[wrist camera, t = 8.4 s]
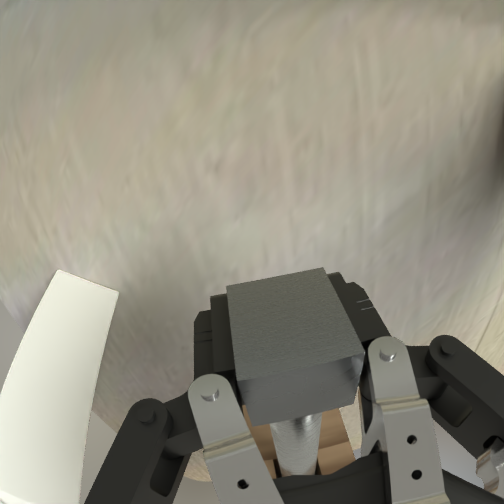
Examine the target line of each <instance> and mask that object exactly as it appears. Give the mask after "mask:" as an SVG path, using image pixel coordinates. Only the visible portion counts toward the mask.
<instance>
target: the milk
mask: <svg viewBox="0 0 504 504" xmlns="http://www.w3.org/2000/svg"><path fill="white" fill-rule="evenodd" d="M118 296H119V292H118V291H115V290H112V289H109V288H107V287H104V286H101V285H98V284H96V283H93V282H90V281H88V280H85V279H82V278H80V277H77V276H75V275H72V274H70V273H67V272H64V271H62V270H59V269H58V270H57V271H56V273H55V275H54V277H53V279H52V280H51V282H50V284H49V286H48V288H47V290H46V292H45V293H44V295H43V297H42V299H41V301H40V303H39V305H38V307H37V309H36V311H35V313H34V315H33V317H32V319H31V321H30V323H29V326H28V328H27V330H26V332H25V334H24V336H23V339H22V341H21V343H20V345H19V348H18V350H17V352H16V355H15V357H14V360H13V362H12V365H11V367H10V369H9V372H8V375H7V378H6V380H5V383H4V386H3V388H2V391H1V394H0V503H1V504H80V491H81V479H82V471H83V462H84V454H85V447H86V440H87V433H88V427H89V421H90V415H91V409H92V404H93V399H94V393H95V388H96V384H97V379H98V374H99V370H100V365H101V361H102V356H103V352H104V348H105V344H106V340H107V336H108V332H109V328H110V324H111V321H112V317H113V313H114V310H115V306H116V303H117V299H118Z"/></svg>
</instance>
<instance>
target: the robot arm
mask: <svg viewBox="0 0 504 504" xmlns="http://www.w3.org/2000/svg"><path fill="white" fill-rule="evenodd" d="M327 276H328V278H329V280H330V282H331V284H332V285H333V287H334V289H335V291H336V293H337V295H338V297H339V299H340V301H341V303H342V305H343V307H344V309H345V311H346V313H347V315H348V317H349V319H350V321H351V323H352V326H353V328H354V330H355V332H356V334H357V336H358V338H359V340H360V342H361V344H362V346H363V348H364V351H365V356H364V361H363V366H362V370H361V375H360V379H359V383H358V386H359V390H358V400H359V409H360V419H361V429H362V444H361V458H359V459H357V460H355V461H353V462H352V463H350V464H348V465H346V466H345V467H343V468H341V469H339V470H337V471H336V472H334V473H332V474H328V475H291V476H286V477H281V478H275V479H272V478H271V475H270V473H269V471H268V469H267V467H266V465H265V463H264V461H263V458H262V456H261V454H260V452H259V450H258V447H257V445H256V443H255V441H254V439H253V437H252V435H251V433H250V431H249V428H248V426H247V424H246V421H245V419H244V414H243V407H242V405H245V404H244V401H243V398H242V395H241V392H240V389H239V386H238V383H237V377H236V369H235V361H234V352H233V344H232V335H231V326H230V317H229V308H228V298H227V293H226V294H221V295H215V296H211V297H210V302H211V310H207V311H201V312H199V314H198V316H197V317H196V319H195V321H194V381H193V383H192V384H191V385H190V387H189V390H188V391H187V392H186V393H185V394H183V395H182V396H180V397H178V398H175V399H173V400H170V401H168V402H165V403H162V402H160V401H159V400H156V399H152V398H148V399H143V400H140V401H138V402H137V403H135V404H134V405H133V406H132V407H131V409H130V410H129V412H128V414H127V416H126V418H125V420H124V422H123V424H122V426H121V428H120V430H119V432H118V434H117V436H116V438H115V440H114V442H113V444H112V446H111V448H110V450H109V452H108V455H107V457H106V459H105V461H104V463H103V465H102V467H101V469H100V471H99V473H98V475H97V477H96V480H95V482H94V484H93V486H92V488H91V490H90V492H89V495H88V497H87V499H86V501H85V503H84V504H172V503H173V501H174V498H175V496H176V493H177V490H178V488H179V485H180V482H181V480H182V477H183V475H184V472H185V469H186V467H187V464H188V461H189V459H190V456H191V453H192V452H195V451H197V450H199V449H202V448H204V451H203V455H204V459H205V463H206V466H207V468H208V471H209V474H210V477H211V480H212V483H213V485H214V488H215V491H216V494H217V496H218V499H219V501H220V504H504V376H503V375H502V374H501V373H500V372H499V371H497V370H496V369H495V368H494V367H492V366H491V365H490V364H489V363H487V362H486V361H485V360H484V359H482V358H481V357H480V356H479V355H477V354H476V353H475V352H473V351H472V350H471V349H470V348H468V347H467V346H466V345H464V344H463V343H462V342H461V341H459V340H458V339H457V338H455V337H453V336H449V335H441V336H438V337H436V338H434V339H433V340H432V342H431V343H430V346H406V345H405V344H404V343H403V342H402V341H400V340H399V339H397V338H395V337H392V336H391V335H390V333H389V332H388V330H387V328H386V326H385V325H384V323H383V321H382V319H381V318H380V316H379V314H378V312H377V311H376V309H375V308H374V306H373V304H372V302H371V301H370V300H369V297H368V296H367V294H366V292H365V291H364V289H363V288H361V287H360V286H359V285H357V284H356V283H355V282H351V283H346V282H345V281H344V279H343V277H342V275H341V274H340V273H339V272H336V273H331V274H327ZM432 418H433V419H434V420H435V421H436V422H437V423H438V424H439V425H440V426H441V427H443V429H445V430H446V431H447V432H448V433H449V434H450V435H451V436H452V437H453V438H454V439H455V440H456V441H458V442H459V443H460V444H461V445H462V446H463V447H464V448H465V449H466V450H467V451H468V452H469V453H470V454H471V455H473V456H474V457H475V458H476V459H477V464H476V465H477V467H476V468H477V469H476V475H477V476H478V477H480V478H481V479H482V480H483V483H484V489H482V488H480V487H478V486H476V485H473V484H471V483H469V482H467V481H465V480H463V479H461V478H459V477H457V476H455V475H453V474H451V473H449V472H447V471H445V470H443V469H442V468H441V462H440V456H439V450H438V445H437V439H436V434H435V429H434V425H433V420H432Z"/></svg>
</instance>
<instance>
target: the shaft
mask: <svg viewBox="0 0 504 504" xmlns="http://www.w3.org/2000/svg"><path fill="white" fill-rule="evenodd" d="M226 289H227V298H228V308H229V317H230V326H231V335H232V344H233V352H234V361H235V369H236V377H237V383H238V386H239V389H240V392H241V395H242V398H243V401H244V404H245V406H246V409H247V412H248V415H249V418H250V421H251V424H252V427H254V426H260V425H265V424H270V429H271V433H272V437H273V441H274V445H275V450H276V454H277V458H278V462H279V466H280V470H281V474H282V477H286V476H291V475H315V469H316V462H317V454H318V446H319V438H320V429H321V419H322V412H325V411H329V410H333V409H337V408H340V407H344V406H347V405H351V404H353V403H354V400H355V396H356V392H357V387H358V383H359V379H360V375H361V370H362V366H363V361H364V356H365V351H364V348H363V346H362V344H361V342H360V340H359V338H358V336H357V334H356V332H355V330H354V328H353V326H352V323H351V321H350V319H349V317H348V315H347V313H346V311H345V309H344V307H343V305H342V303H341V301H340V299H339V297H338V295H337V293H336V291H335V289H334V287H333V285H332V284H331V282H330V280H329V278H328V276H327V274H326V272H325V270H324V268H323V267H322V268H317V269H313V270H308V271H303V272H298V273H292V274H287V275H282V276H277V277H272V278H267V279H261V280H256V281H251V282H246V283H240V284H235V285H229V286H226Z"/></svg>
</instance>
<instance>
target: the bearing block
mask: <svg viewBox="0 0 504 504" xmlns="http://www.w3.org/2000/svg"><path fill="white" fill-rule="evenodd" d="M242 407H243V414H244V419H245V421H246V424H247V426H248V428H249V431H250V433H251V435H252V437H253V439H254V441H255V443H256V445H257V447H258V450H259V452H260V454H261V456H262V458H263V461H264V463H265V465H266V467H267V469H268V471H269V473H270V475H271V478H272V479H275V478H281V477H282V474H281V470H280V466H279V462H278V458H277V454H276V450H275V445H274V441H273V437H272V433H271V429H270V424H265V425H260V426H254V427H252V424H251V421H250V418H249V415H248V412H247V409H246V406H245V405H242ZM353 461H355V457H354V454H353V451H352V447H351V444H350V441H349V438H348V435H347V432H346V429H345V426H344V423H343V420H342V417H341V414H340V411H339V408H337V409H333V410H329V411H325V412H322V419H321V429H320V438H319V446H318V454H317V462H316V469H315V475H328V474H332V473H334V472H336V471H337V470H339V469H341V468H343V467H345V466H346V465H348V464H350V463H352V462H353Z"/></svg>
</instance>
